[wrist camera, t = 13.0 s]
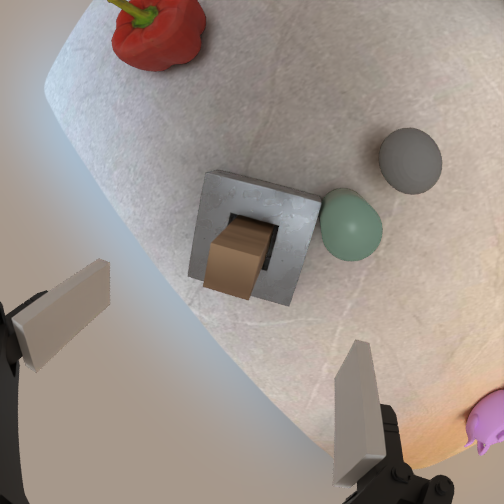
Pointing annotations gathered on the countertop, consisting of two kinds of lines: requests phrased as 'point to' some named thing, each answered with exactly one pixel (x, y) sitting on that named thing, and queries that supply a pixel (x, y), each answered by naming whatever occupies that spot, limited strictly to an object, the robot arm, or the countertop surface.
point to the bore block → (261, 208)
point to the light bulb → (410, 161)
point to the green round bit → (349, 225)
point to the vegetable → (158, 32)
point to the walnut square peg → (238, 256)
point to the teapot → (486, 421)
